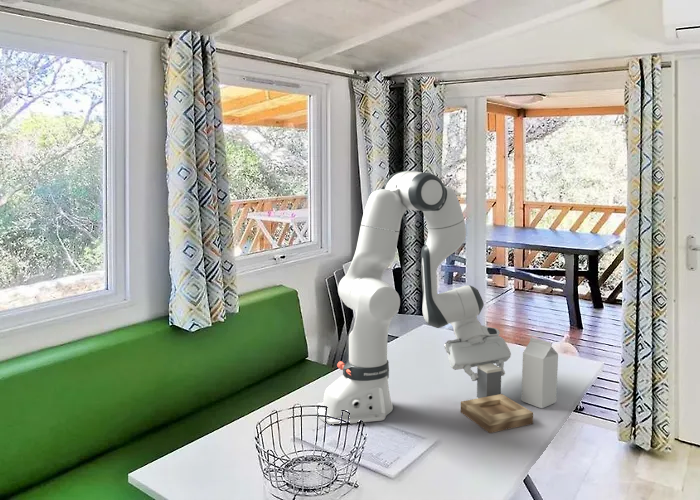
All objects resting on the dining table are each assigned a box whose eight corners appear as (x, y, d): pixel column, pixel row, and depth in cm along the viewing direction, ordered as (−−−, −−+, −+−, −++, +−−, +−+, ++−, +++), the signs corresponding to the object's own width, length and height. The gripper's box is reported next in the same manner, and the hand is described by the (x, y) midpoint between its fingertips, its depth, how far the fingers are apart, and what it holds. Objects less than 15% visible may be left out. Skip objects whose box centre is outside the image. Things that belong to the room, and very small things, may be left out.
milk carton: (541, 409, 165) (544, 345, 162) (521, 401, 170) (523, 339, 167) (556, 403, 169) (558, 340, 166) (535, 395, 174) (538, 335, 172)
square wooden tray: (489, 433, 150) (489, 421, 150) (460, 412, 163) (460, 401, 163) (532, 423, 155) (533, 412, 155) (501, 404, 168) (501, 393, 168)
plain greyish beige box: (486, 403, 169) (487, 370, 168) (476, 396, 174) (477, 365, 172) (500, 400, 171) (501, 368, 170) (490, 394, 176) (491, 363, 174)
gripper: (446, 336, 173) (463, 378, 166) (502, 328, 181) (521, 368, 173) (438, 346, 178) (455, 387, 170) (493, 338, 185) (512, 377, 178)
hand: (489, 377), depth 172 cm, fingers open, 8 cm apart
